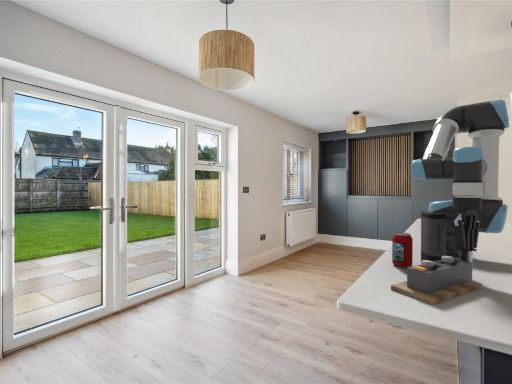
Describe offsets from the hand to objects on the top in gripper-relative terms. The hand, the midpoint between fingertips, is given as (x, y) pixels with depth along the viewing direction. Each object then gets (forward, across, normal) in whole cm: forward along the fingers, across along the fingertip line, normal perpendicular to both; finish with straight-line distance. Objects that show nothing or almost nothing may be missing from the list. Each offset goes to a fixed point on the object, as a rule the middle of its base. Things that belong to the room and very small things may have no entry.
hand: (466, 271), depth 89 cm
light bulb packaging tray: (+2, +14, 0) cm, 14 cm away
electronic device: (+3, -6, -14) cm, 16 cm away
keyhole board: (+3, +16, 0) cm, 16 cm away
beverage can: (+3, +3, -20) cm, 20 cm away
